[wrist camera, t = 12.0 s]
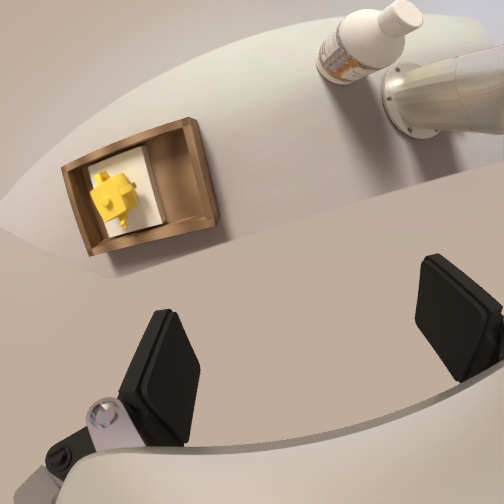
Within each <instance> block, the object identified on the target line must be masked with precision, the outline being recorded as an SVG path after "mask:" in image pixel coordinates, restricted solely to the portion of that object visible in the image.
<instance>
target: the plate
mask: <svg viewBox="0 0 504 504" xmlns="http://www.w3.org/2000/svg"><path fill="white" fill-rule="evenodd" d="M88 170H89V173H90V177H91V181H92V185H93V188H94V189H95V188H96V187H97V186H98V184H97V182H96V179H95V177H94V176H95V175H97V174H98V173H100V172H103V171H106V172H107V173H108V175H109V176H110V177H113V176H114V175H116V174H119V173H124V174H125V176H126V177H127V179H128V181H129V183H130V184H131V183H133V182H135V184H136V186H137V188H135V189H133V191H134V193H135V195H136V197H137V200H138V205H137V206H135V207H134V208H132V209H130V210H129V216H128V222H127V227H126V228H124V229H123V227H122V226H121V223H120V220H119V217H117V218H115V219H113V220H111V221H108V222H105V221H104V220H103V221H104V224H105V227H106V229H107V232H108V235H109V238H110V237H114V236H117V235H121V234H125V233H128V232H132V231H136V230H139V229H143V228H147V227H151V226H155V225H159V224H162V223H163V222H164V221H165V220H166V217H165V213H164V210H163V207H162V203H161V200H160V196H159V193H158V189H157V185H156V182H155V178H154V174H153V170H152V167H151V163H150V159H149V155H148V151H147V147H146V146H140V147H137V148H134V149H132V150H129V151H126V152H124V153H121V154H118V155H116V156H113V157H111V158H108V159H106V160H103V161H101V162H99V163H96V164H94V165H92V166H89V167H88Z"/></svg>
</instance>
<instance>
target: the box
mask: <svg viewBox="0 0 504 504" xmlns="http://www.w3.org/2000/svg"><path fill="white" fill-rule="evenodd" d="M140 146H146V147H147V151H148V155H149V159H150V163H151V167H152V170H153V174H154V178H155V182H156V185H157V189H158V193H159V196H160V200H161V203H162V207H163V210H164V213H165V217H166V220H165V221H164V222H163V223H162V224H159V225H155V226H151V227H147V228H143V229H139V230H136V231H132V232H128V233H125V234H121V235H117V236H114V237H110V238H109V235H108V232H107V229H106V227H105V224H104V221H103V218H102V217H101V215H100V213H99V211H98V210H97V208H96V206H95V203H94V201H93V199H92V197H91V194H90V192H91V191H92V190H93V189H94V188H93V185H92V181H91V177H90V173H89V170H88V167H89V166H92V165H94V164H96V163H99V162H101V161H103V160H106V159H108V158H111V157H113V156H116V155H118V154H121V153H124V152H126V151H129V150H132V149H134V148H137V147H140ZM61 170H62V174H63V178H64V182H65V186H66V189H67V193H68V196H69V200H70V203H71V206H72V209H73V212H74V216H75V219H76V222H77V225H78V228H79V230H80V233H81V236H82V239H83V241H84V244H85V247H86V249H87V252H88V255H89V257H90V256H94V255H98V254H102V253H106V252H110V251H113V250H117V249H121V248H125V247H129V246H133V245H137V244H141V243H145V242H150V241H154V240H158V239H162V238H166V237H171V236H175V235H179V234H183V233H188V232H192V231H197V230H201V229H206V228H210V227H215V226H216V225H217V222H218V219H219V217H220V215H219V211H218V207H217V203H216V199H215V195H214V191H213V187H212V183H211V179H210V174H209V170H208V166H207V162H206V158H205V154H204V150H203V145H202V141H201V137H200V133H199V128H198V124H197V120H195V119H193V118H190V117H188V118H184V119H181V120H177V121H174V122H171V123H168V124H165V125H162V126H159V127H156V128H153V129H150V130H147V131H144V132H141V133H138V134H136V135H133V136H130V137H128V138H125V139H123V140H120V141H118V142H115V143H113V144H110V145H108V146H105V147H103V148H101V149H99V150H96V151H94V152H92V153H90V154H87V155H85V156H83V157H81V158H79V159H77V160H75V161H73V162H71V163H69V164H67V165H65V166H63V167H61Z"/></svg>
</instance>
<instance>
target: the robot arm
mask: <svg viewBox="0 0 504 504" xmlns="http://www.w3.org/2000/svg"><path fill="white" fill-rule="evenodd" d="M382 99H383V104H384V107H385V110H386V112H387V114H388V116H389V118H390V119H391V121H392V122H393V123H394V125H395V126H396V127H397V128H398V129H399V130H400V131H402V132H403V133H404V134H406V135H408V136H410V137H413V138H416V139H429V138H432V137H434V136H435V135H437V134H438V133H439V132H440V131H441V130H449V131H463V132H474V133H483V134H493V135H502V134H504V44H503V45H500V46H497V47H494V48H490V49H486V50H482V51H478V52H474V53H470V54H466V55H462V56H458V57H454V58H450V59H446V60H443V61H439V62H436V63H432V64H429V65H425V66H420V65H418V64H416V63H411V62H403V63H399V64H397V65H395V66H393V67H391V68H390V69H389V70H388V71H387V73H386V74H385V76H384V79H383V82H382ZM387 99H388V100H387ZM502 308H503V306H502V305H501V304H500V303H499V302H497V301H496V300H495V299H494V298H493V297H492V296H491V295H490V294H489V293H487V292H486V291H485V290H484V289H483V288H482V287H480V286H479V285H478V284H477V283H475V282H474V281H473V280H472V279H471V278H469V277H468V276H467V275H466V274H465V273H463V272H462V271H461V270H460V269H458V268H457V267H456V266H454V265H453V264H452V263H450V262H449V261H448V260H447V259H445V258H444V257H443V256H442V255H440V254H433V255H429V256H426V257H425V258H424V261H422V263H421V269H420V281H419V291H418V299H417V306H416V313H415V322H416V325H417V326H418V328H419V329H420V331H421V332H422V333H423V335H424V336H425V337H426V339H427V340H428V342H429V343H430V344H431V346H432V347H433V349H434V350H435V351H436V353H437V354H438V356H439V357H440V359H441V360H442V361H443V363H444V364H445V366H446V367H447V369H448V370H449V372H450V373H451V375H452V376H453V378H454V379H455V381H459V382H460V384H459V385H457V386H455V387H453V388H451V389H449V390H447V391H445V392H443V393H440V394H438V395H436V396H434V397H432V398H429V399H427V400H425V401H422V402H420V403H418V404H415V405H412V406H410V407H407V408H405V409H402V410H399V411H396V412H394V413H391V414H388V415H385V416H382V417H379V418H376V419H373V420H370V421H367V422H363V423H360V424H356V425H352V426H349V427H345V428H341V429H337V430H333V431H328V432H324V433H319V434H314V435H309V436H304V437H299V438H293V439H287V440H280V441H274V442H265V443H257V444H246V445H232V446H213V447H184V443H187V442H188V441H189V436H190V430H191V423H192V417H193V411H194V405H195V400H196V393H197V388H198V382H199V376H200V364H199V362H198V359H197V357H196V355H195V353H194V351H193V348H192V347H191V344H190V342H189V340H188V337H187V335H186V333H185V330H184V329H183V326H182V323H181V321H180V319H179V316H178V314H177V313H176V312H172V310H171V309H164V310H157V311H155V312H154V314H153V316H152V318H151V320H150V322H149V324H148V326H147V328H146V331H145V333H144V335H143V337H142V339H141V341H140V343H139V346H138V348H137V350H136V352H135V354H134V357H133V359H132V361H131V363H130V366H129V368H128V371H127V373H126V375H125V377H124V380H123V382H122V384H121V387H120V389H119V391H118V392H119V395H118V397H117V399H116V398H112V397H107V398H103V399H100V400H98V401H97V402H95V403H94V404H93V405H92V406H91V407H90V408H89V410H88V412H87V415H86V423H87V426H86V427H84V428H82V429H81V430H79V431H77V432H76V433H74V434H72V435H71V436H69V437H67V438H66V439H64V440H62V441H60V442H58V443H57V444H55V445H54V446H52V447H51V448H50V449H49V451H48V452H47V455H46V459H45V462H46V467H44V466H43V465H41V466H40V467H39V468H38V469H37V470H36V471H35V472H34V473H33V474H32V475H31V476H30V477H29V478H28V479H27V480H26V481H25V482H24V483H23V484H22V485H21V486H20V487H19V488H18V489H17V490H16V492H15V495H14V504H504V316H503V315H502V314H501V311H502Z"/></svg>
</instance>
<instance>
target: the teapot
mask: <svg viewBox="0 0 504 504" xmlns="http://www.w3.org/2000/svg"><path fill="white" fill-rule="evenodd" d="M94 177H95V179H96V182H97V184H98V186H97V187H96V188H95V189H93V190H92V191H91V192H90V194H91V197H92V199H93V201H94V203H95V206H96V208H97V210H98V211H99V213H100V215H101V217H102V218H103V220H104V221H105V222H108V221H111V220H113V219H115V218H117V217H119V220H120V223H121V226H122V227H123V229H124V228H126V227H127V222H128V216H129V210H130V209H132V208H134V207H135V206H137V205H138V200H137V197H136V195H135V193H134V191H133V189H135V188H137V186H136V184H135V182H133V183H131V184H130V183H129V181H128V179H127V177H126V176H125V174H124V173H119V174H116V175H114V176H113V177H110V176H109V175H108V173H107V172H106V171H103V172H100V173H98V174H97V175H95V176H94Z"/></svg>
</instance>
